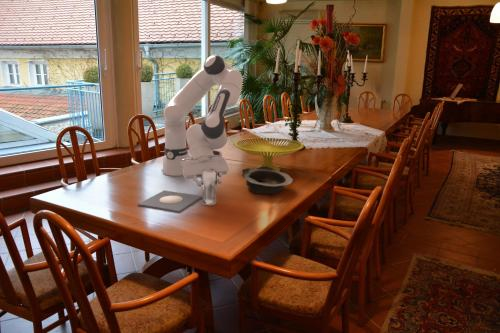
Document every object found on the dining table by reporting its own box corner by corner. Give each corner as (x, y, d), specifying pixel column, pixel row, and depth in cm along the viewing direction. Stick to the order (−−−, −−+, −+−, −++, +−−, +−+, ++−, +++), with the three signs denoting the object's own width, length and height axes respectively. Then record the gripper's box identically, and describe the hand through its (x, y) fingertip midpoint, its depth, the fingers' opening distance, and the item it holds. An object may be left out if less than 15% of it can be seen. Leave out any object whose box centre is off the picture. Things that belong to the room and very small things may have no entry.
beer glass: (219, 201, 175) (219, 168, 171) (213, 206, 169) (213, 172, 165) (204, 199, 177) (204, 167, 173) (198, 204, 170) (198, 171, 167)
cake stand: (222, 175, 215) (222, 148, 211) (245, 158, 252) (245, 135, 248) (295, 183, 203) (297, 154, 199) (308, 164, 241) (309, 140, 237)
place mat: (164, 191, 186) (164, 189, 186) (202, 197, 179) (202, 195, 179) (138, 205, 168) (138, 203, 168) (179, 212, 161) (179, 210, 161)
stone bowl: (238, 181, 203) (240, 164, 201) (286, 185, 205) (288, 168, 203) (241, 197, 179) (242, 177, 177) (295, 200, 181) (297, 181, 179)
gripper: (180, 155, 169) (188, 183, 163) (224, 151, 178) (233, 178, 172) (177, 163, 174) (185, 190, 168) (221, 158, 183) (229, 185, 177)
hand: (209, 184), depth 170 cm, fingers open, 8 cm apart
